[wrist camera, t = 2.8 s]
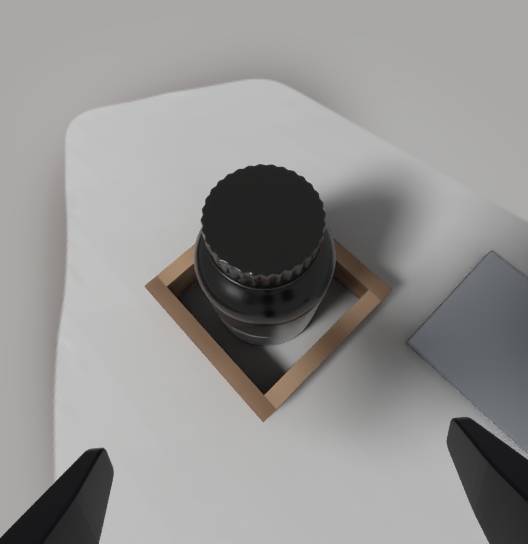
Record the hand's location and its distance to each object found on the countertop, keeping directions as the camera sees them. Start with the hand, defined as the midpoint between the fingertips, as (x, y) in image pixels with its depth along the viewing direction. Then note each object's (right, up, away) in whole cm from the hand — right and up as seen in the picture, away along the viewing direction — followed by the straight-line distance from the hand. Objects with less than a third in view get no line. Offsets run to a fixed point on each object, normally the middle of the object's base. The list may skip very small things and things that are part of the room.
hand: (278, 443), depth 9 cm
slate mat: (+15, 0, +14) cm, 21 cm away
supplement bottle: (0, +3, +15) cm, 16 cm away
